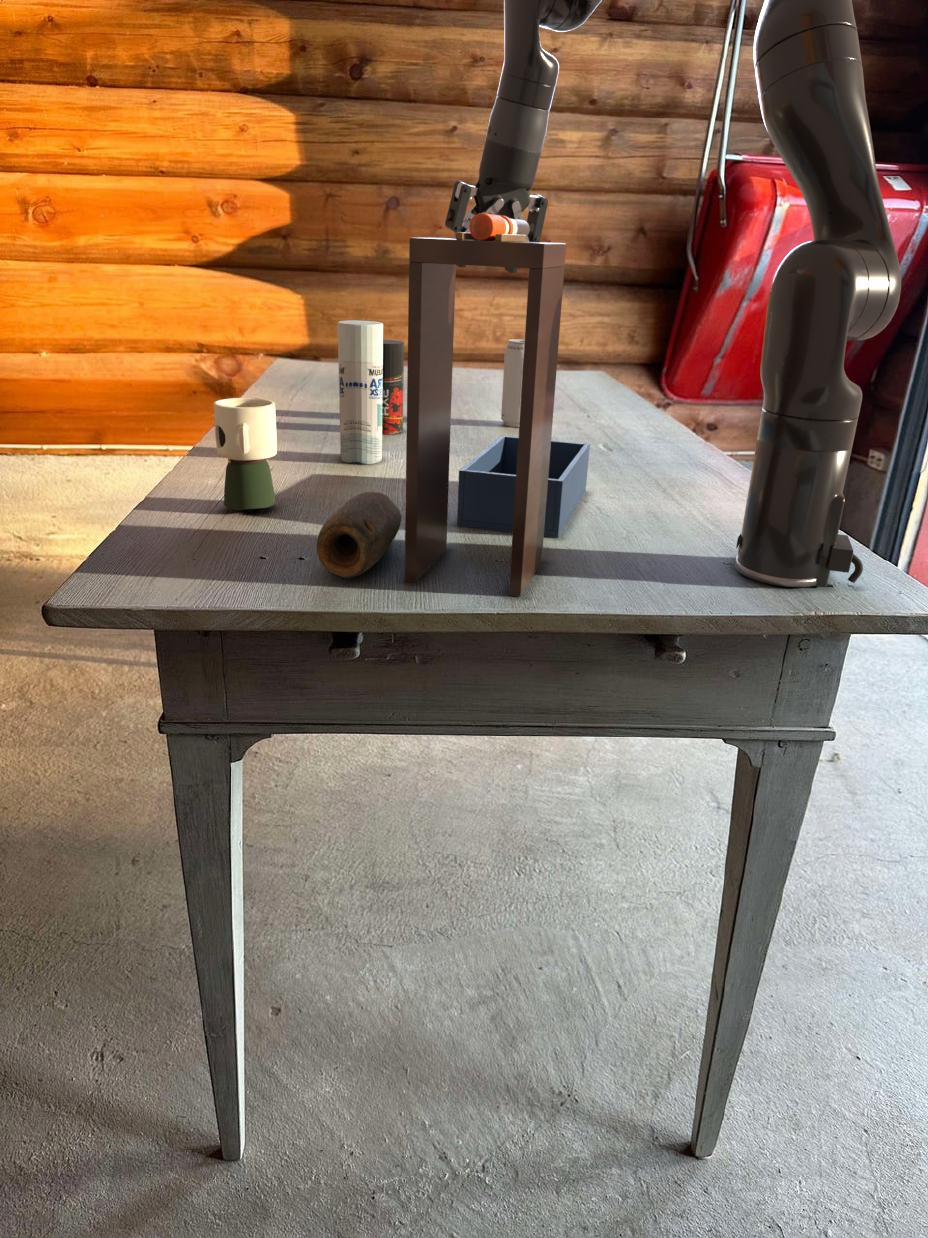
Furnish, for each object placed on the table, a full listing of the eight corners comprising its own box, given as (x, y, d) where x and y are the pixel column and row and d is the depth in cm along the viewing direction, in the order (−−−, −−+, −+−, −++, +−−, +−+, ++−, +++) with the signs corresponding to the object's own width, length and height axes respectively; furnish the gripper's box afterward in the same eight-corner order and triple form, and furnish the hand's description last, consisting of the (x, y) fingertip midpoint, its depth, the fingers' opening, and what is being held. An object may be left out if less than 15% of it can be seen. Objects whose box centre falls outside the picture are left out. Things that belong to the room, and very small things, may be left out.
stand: (541, 561, 99) (566, 236, 86) (520, 597, 89) (545, 235, 76) (436, 548, 102) (445, 231, 89) (404, 581, 92) (409, 229, 79)
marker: (493, 239, 79) (493, 212, 79) (469, 240, 80) (468, 213, 79) (533, 240, 95) (533, 217, 94) (512, 241, 95) (512, 218, 95)
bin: (585, 492, 126) (590, 443, 124) (558, 537, 107) (562, 481, 104) (498, 483, 129) (501, 435, 127) (456, 525, 110) (458, 470, 107)
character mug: (223, 496, 117) (217, 394, 112) (280, 496, 118) (275, 394, 113) (217, 521, 107) (209, 410, 102) (278, 521, 109) (274, 411, 104)
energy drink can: (515, 420, 173) (520, 338, 167) (539, 425, 169) (545, 341, 163) (494, 423, 169) (498, 339, 163) (518, 429, 165) (524, 343, 159)
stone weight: (384, 587, 90) (384, 522, 87) (314, 583, 90) (312, 518, 88) (403, 540, 104) (404, 482, 101) (342, 536, 104) (342, 479, 102)
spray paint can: (345, 453, 142) (344, 319, 134) (386, 456, 142) (387, 321, 134) (334, 462, 136) (332, 323, 129) (377, 465, 136) (377, 325, 128)
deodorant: (372, 434, 156) (372, 343, 150) (366, 427, 161) (365, 339, 155) (406, 433, 158) (407, 343, 152) (398, 426, 163) (399, 339, 157)
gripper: (482, 138, 113) (454, 272, 121) (573, 156, 120) (540, 281, 129) (454, 126, 118) (428, 255, 126) (542, 144, 125) (513, 265, 134)
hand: (485, 268), depth 127 cm, fingers open, 8 cm apart
